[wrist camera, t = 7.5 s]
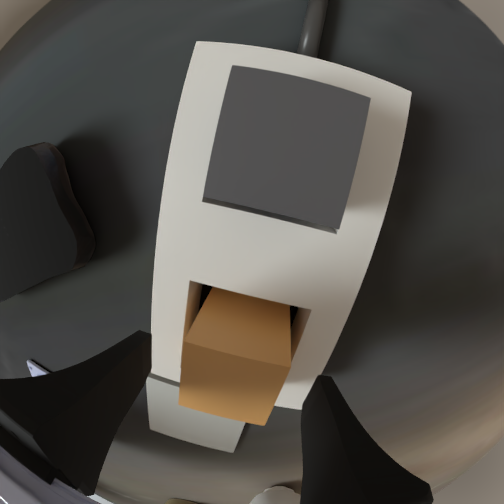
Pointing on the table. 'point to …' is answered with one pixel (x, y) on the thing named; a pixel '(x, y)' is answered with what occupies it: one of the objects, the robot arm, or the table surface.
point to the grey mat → (187, 418)
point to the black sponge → (39, 220)
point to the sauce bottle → (277, 496)
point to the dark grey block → (286, 145)
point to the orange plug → (236, 357)
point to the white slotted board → (269, 214)
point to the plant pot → (179, 501)
